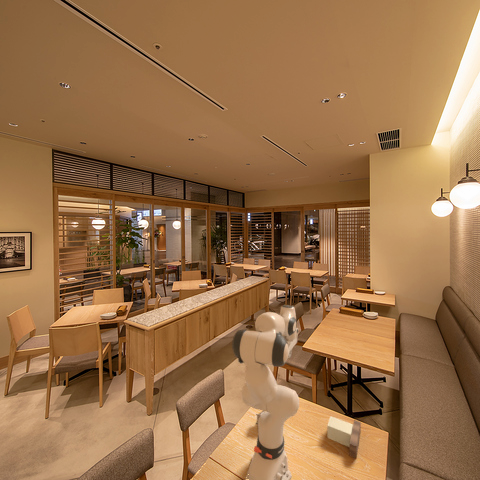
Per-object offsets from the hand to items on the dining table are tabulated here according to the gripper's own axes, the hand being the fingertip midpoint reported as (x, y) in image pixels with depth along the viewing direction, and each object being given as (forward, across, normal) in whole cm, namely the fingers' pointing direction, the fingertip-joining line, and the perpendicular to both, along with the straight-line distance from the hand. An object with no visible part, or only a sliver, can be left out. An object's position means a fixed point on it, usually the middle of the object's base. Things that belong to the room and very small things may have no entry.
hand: (288, 356), depth 140 cm
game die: (+34, -16, +9) cm, 39 cm away
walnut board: (+34, -2, -35) cm, 49 cm away
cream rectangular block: (+34, -2, -28) cm, 44 cm away
